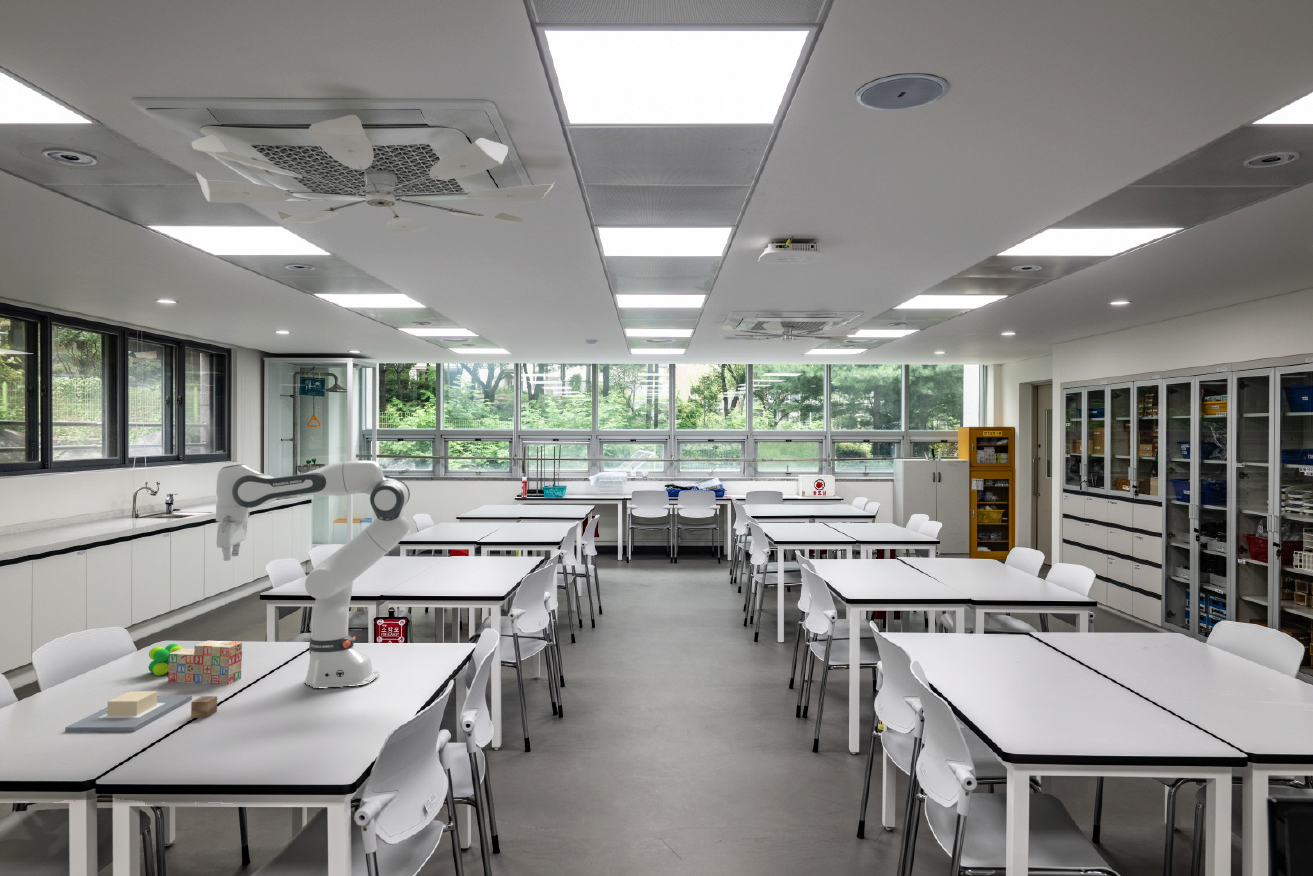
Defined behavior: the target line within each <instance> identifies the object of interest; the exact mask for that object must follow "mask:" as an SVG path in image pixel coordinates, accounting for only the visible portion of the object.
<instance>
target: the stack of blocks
mask: <svg viewBox="0 0 1313 876" xmlns="http://www.w3.org/2000/svg"><path fill="white" fill-rule="evenodd" d="M242 660H243V642H239V641H238V642H237V641H230V640H205V641H204V642H201V643H198V644H195V645H194V648H183V649H180V650H177V651H175V652H172V653H169V656H168V663H169V667H168V672H167V674H168V676H167V681H168V682H169V681H171V682H176V683H186V682H195V683H194V684H205V683H210V685H223V686H224V685H225V686H228V685H230V684H232V682H233V683H235V682H236V681H237V682H238V679H239V680H241V679H242ZM229 683H230V684H229Z"/></svg>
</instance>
